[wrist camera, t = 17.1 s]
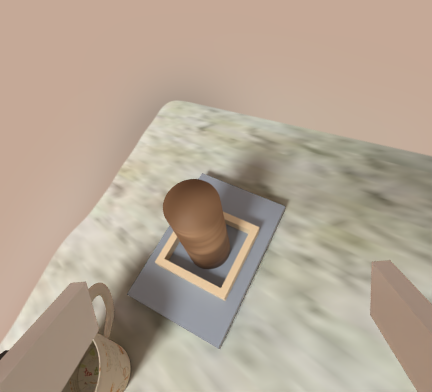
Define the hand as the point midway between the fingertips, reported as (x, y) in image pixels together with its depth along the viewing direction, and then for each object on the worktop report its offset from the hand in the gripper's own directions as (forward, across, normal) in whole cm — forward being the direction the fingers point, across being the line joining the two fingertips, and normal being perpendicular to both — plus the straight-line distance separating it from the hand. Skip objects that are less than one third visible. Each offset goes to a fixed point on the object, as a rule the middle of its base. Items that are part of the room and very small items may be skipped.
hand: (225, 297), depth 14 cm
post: (+21, -4, -8) cm, 23 cm away
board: (+22, -4, -9) cm, 24 cm away
